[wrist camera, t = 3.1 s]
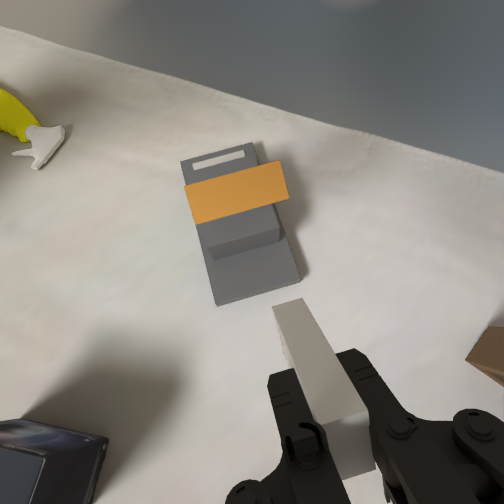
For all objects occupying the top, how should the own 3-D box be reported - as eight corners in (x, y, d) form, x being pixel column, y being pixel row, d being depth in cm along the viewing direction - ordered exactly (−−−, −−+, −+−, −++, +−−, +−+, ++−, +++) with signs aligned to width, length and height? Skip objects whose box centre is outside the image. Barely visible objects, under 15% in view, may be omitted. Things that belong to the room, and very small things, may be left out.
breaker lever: (266, 202, 36) (289, 198, 24) (204, 219, 36) (195, 224, 23) (259, 176, 36) (279, 160, 23) (197, 194, 35) (183, 186, 23)
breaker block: (299, 282, 39) (304, 267, 33) (217, 306, 38) (209, 294, 33) (252, 149, 46) (250, 120, 41) (182, 168, 45) (171, 141, 40)
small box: (112, 433, 34) (48, 455, 24) (91, 509, 32) (10, 567, 22) (19, 414, 35) (-78, 426, 25) (-8, 485, 33) (-126, 530, 23)
